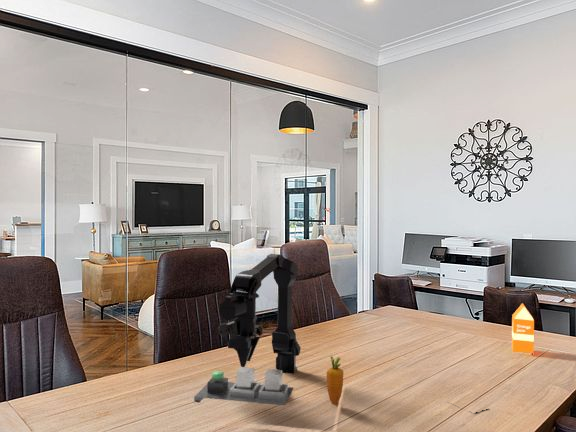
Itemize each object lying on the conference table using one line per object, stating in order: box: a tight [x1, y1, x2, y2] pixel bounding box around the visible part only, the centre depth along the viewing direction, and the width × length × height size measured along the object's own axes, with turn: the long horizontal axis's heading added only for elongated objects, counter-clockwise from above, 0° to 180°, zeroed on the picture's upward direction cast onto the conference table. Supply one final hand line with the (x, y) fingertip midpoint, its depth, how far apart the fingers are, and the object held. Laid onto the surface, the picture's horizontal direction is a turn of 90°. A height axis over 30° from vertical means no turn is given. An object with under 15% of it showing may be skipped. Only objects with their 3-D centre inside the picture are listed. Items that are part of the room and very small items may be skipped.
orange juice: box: [511, 302, 535, 354], centre depth 198 cm, size 8×9×20 cm
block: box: [264, 368, 283, 392], centre depth 145 cm, size 4×4×7 cm
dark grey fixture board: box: [193, 377, 294, 406], centre depth 147 cm, size 28×14×4 cm, turn 79°
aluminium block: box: [236, 366, 255, 390], centre depth 147 cm, size 4×4×7 cm
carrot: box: [326, 355, 344, 405], centre depth 140 cm, size 5×5×15 cm
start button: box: [211, 370, 225, 380], centre depth 149 cm, size 4×4×2 cm
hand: (245, 363), depth 147 cm, fingers open, 6 cm apart
